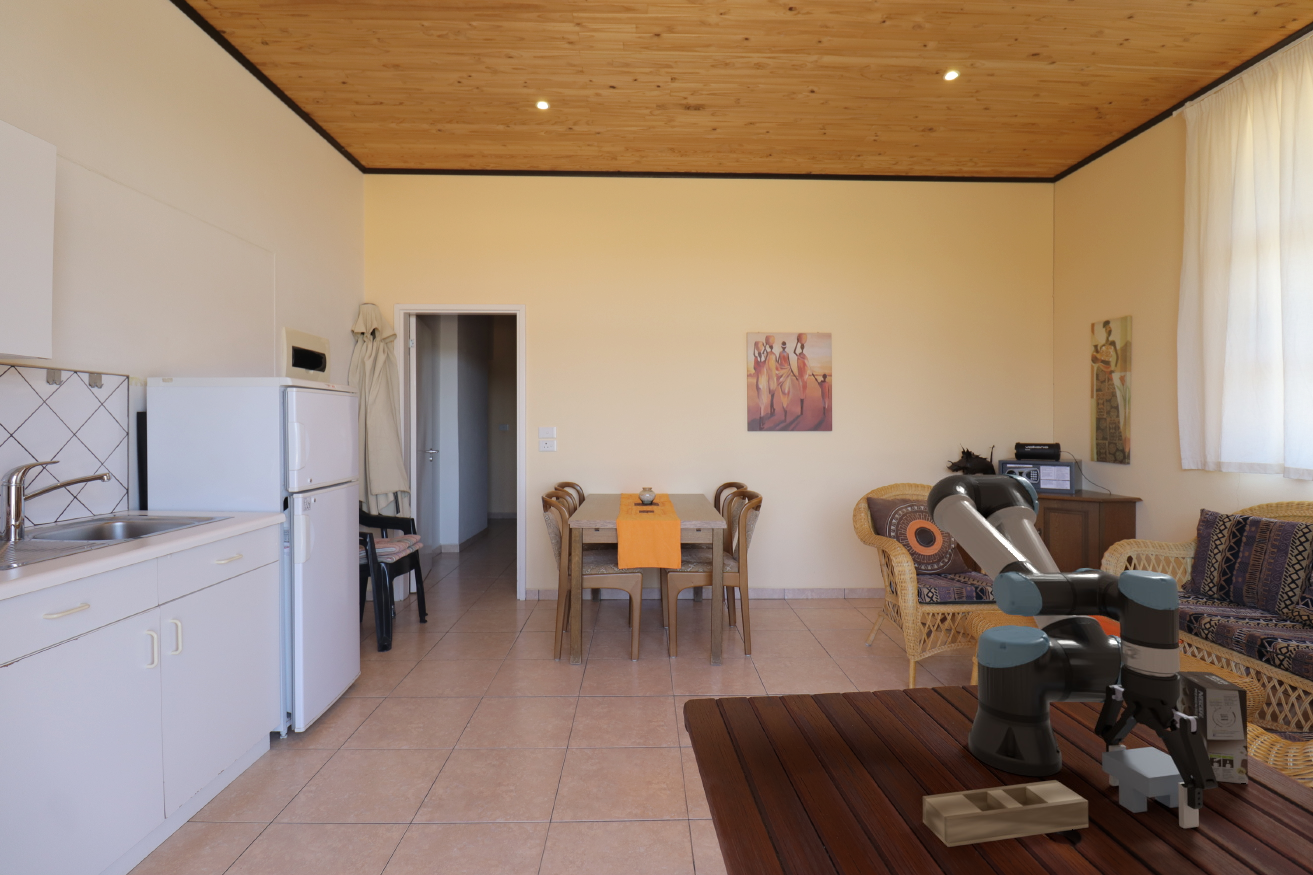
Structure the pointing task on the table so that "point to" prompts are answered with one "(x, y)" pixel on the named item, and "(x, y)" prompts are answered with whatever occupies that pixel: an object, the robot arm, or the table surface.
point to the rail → (1004, 812)
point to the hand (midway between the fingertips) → (1151, 803)
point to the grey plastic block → (1143, 777)
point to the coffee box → (1218, 721)
